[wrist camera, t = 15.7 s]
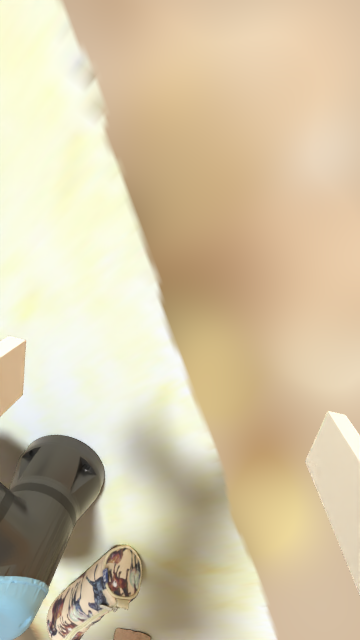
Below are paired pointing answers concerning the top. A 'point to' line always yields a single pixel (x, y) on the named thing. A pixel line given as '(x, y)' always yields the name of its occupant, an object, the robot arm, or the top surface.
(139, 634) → the brick
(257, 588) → the top surface
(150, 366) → the top surface
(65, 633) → the pencil case
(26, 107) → the top surface
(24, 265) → the top surface
